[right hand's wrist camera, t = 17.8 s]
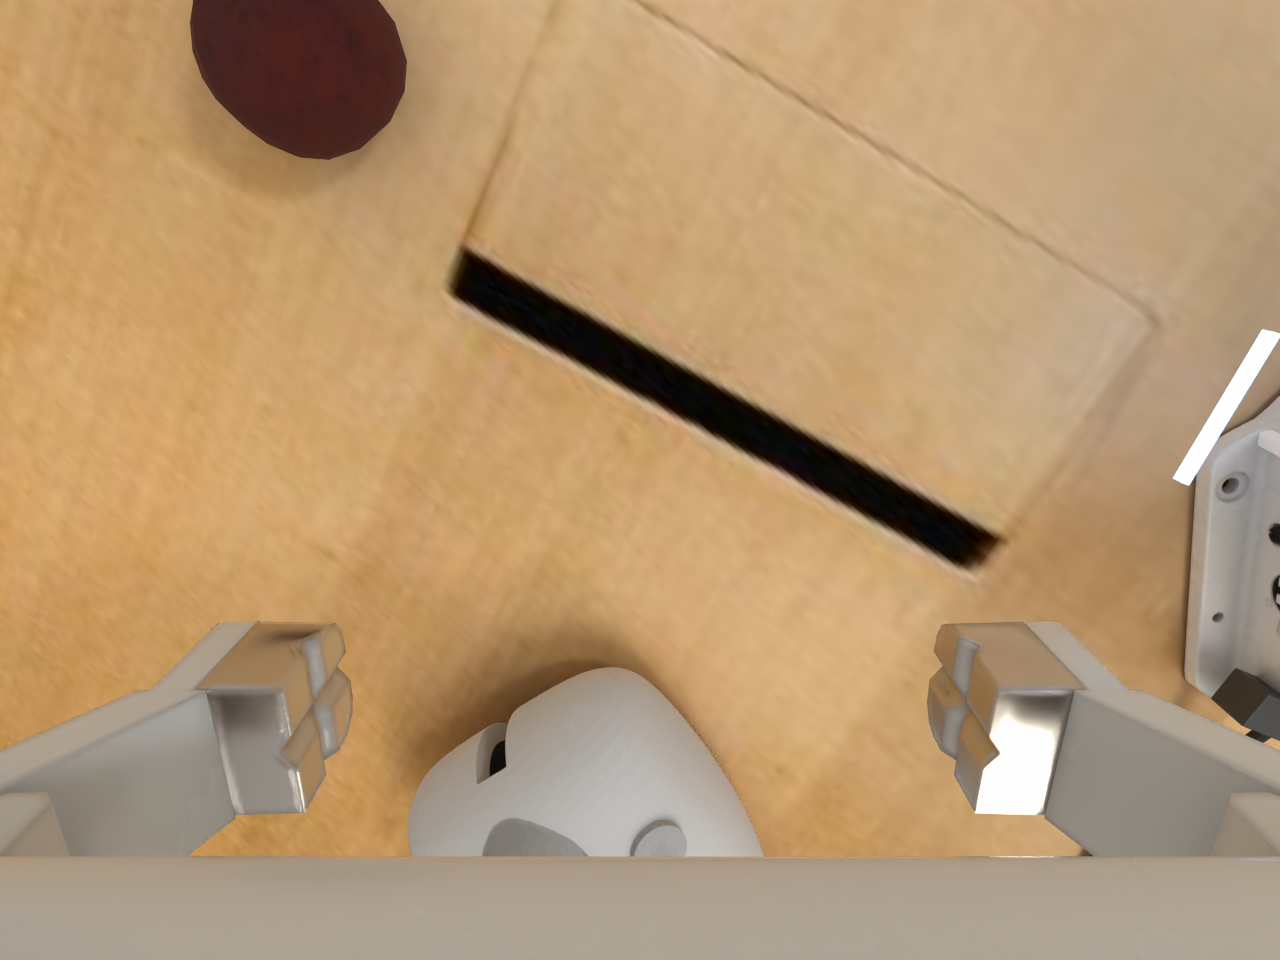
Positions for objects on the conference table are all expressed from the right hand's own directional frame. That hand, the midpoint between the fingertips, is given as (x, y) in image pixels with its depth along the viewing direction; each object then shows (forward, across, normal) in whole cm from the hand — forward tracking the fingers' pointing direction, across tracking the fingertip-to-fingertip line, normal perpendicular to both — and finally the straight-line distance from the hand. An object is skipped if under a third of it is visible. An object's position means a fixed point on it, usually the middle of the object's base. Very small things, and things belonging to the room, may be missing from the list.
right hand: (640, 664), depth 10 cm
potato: (+29, +13, -11) cm, 34 cm away
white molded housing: (+29, +1, +30) cm, 41 cm away
